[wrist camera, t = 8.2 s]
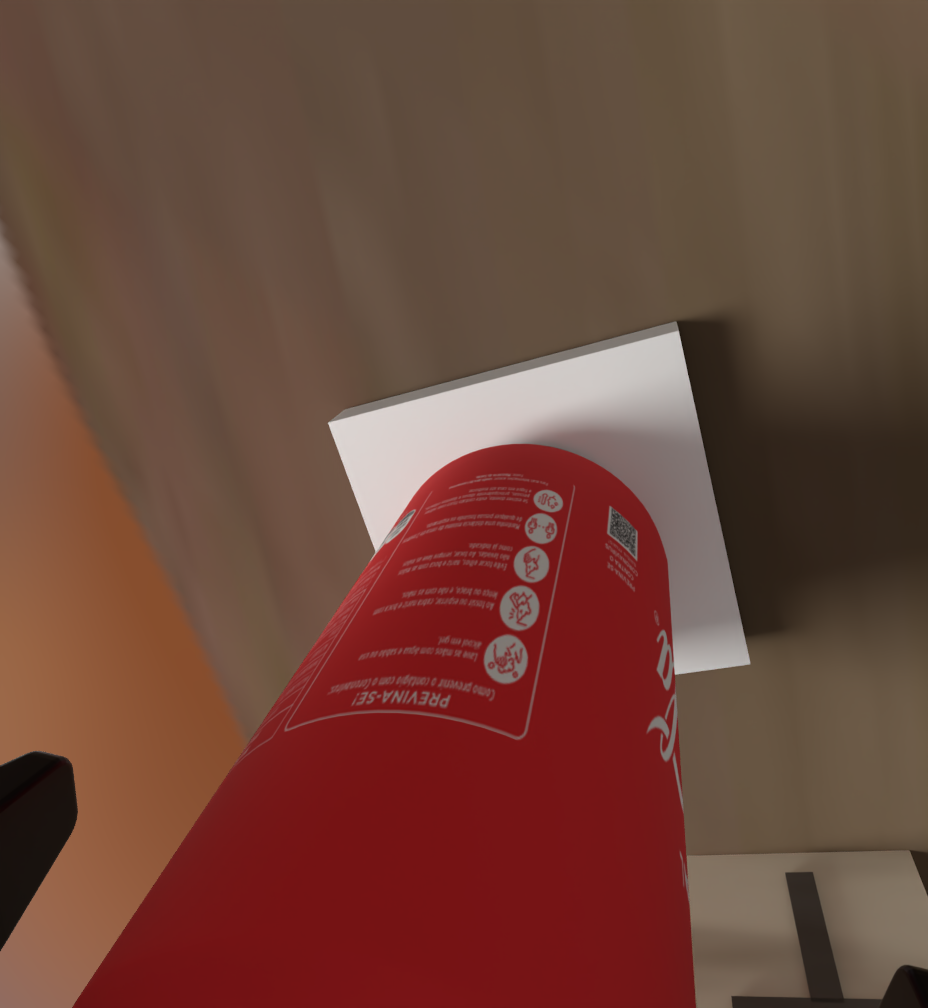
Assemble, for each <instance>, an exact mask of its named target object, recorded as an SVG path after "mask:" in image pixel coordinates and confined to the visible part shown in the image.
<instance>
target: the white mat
mask: <svg viewBox="0 0 928 1008" xmlns="http://www.w3.org/2000/svg"><path fill="white" fill-rule="evenodd" d="M328 424H329V427H330V429H331V432H332V435H333V437H334V440H335V443H336V446H337V448H338V451H339V454H340V456H341V459H342V462H343V464H344V467H345V470H346V473H347V475H348V478H349V481H350V483H351V486H352V489H353V492H354V494H355V497H356V500H357V502H358V505H359V508H360V510H361V513H362V516H363V519H364V521H365V524H366V527H367V529H368V532H369V535H370V538H371V540H372V543H373V546H374V548H375V551H376V552H377V550H378V549H379V547H380V546H381V544H382V543H383V541H384V540H385V538H386V537H387V535H388V534H389V532H390V531H391V529H392V528H393V526H394V525H395V523H396V522H397V520H398V519H399V517H400V516H401V514H402V513H403V511H404V510H405V508H406V507H407V505H408V504H409V502H410V501H411V499H412V498H413V496H414V495H415V493H416V492H417V491H418V490H419V488H420V487H421V486H422V485H423V484H424V483H425V482H426V481H427V480H428V479H429V478H430V477H431V476H432V475H433V474H434V473H436V472H437V471H438V470H440V469H441V468H442V467H444V466H445V465H447V464H449V463H450V462H452V461H454V460H456V459H458V458H460V457H462V456H464V455H466V454H469V453H471V452H474V451H477V450H480V449H484V448H488V447H493V446H499V445H507V444H535V445H544V446H551V447H556V448H560V449H563V450H567V451H570V452H572V453H575V454H577V455H580V456H582V457H584V458H586V459H588V460H590V461H593V462H594V463H596V464H598V465H600V466H601V467H603V468H604V469H606V470H607V471H609V472H610V473H612V474H613V475H614V476H616V477H617V478H618V479H619V480H621V481H622V482H623V483H624V484H625V485H626V486H627V487H628V488H629V489H630V490H631V491H632V492H633V493H634V494H635V495H636V496H637V498H638V499H639V500H640V501H641V503H642V504H643V505H644V507H645V508H646V510H647V511H648V513H649V514H650V516H651V518H652V520H653V522H654V524H655V526H656V528H657V530H658V533H659V535H660V538H661V541H662V544H663V547H664V550H665V554H666V557H667V562H668V575H669V591H670V607H671V623H672V639H673V655H674V670H675V675H676V674H683V673H691V672H698V671H705V670H712V669H719V668H727V667H734V666H741V665H748V664H750V660H749V655H748V650H747V646H746V641H745V637H744V632H743V627H742V623H741V618H740V613H739V609H738V604H737V599H736V595H735V590H734V585H733V581H732V576H731V571H730V567H729V562H728V558H727V553H726V548H725V544H724V539H723V534H722V530H721V525H720V520H719V516H718V511H717V506H716V502H715V497H714V493H713V488H712V483H711V479H710V474H709V469H708V465H707V460H706V455H705V451H704V446H703V441H702V437H701V432H700V427H699V423H698V418H697V414H696V409H695V404H694V400H693V395H692V390H691V386H690V381H689V376H688V372H687V367H686V362H685V358H684V353H683V349H682V344H681V339H680V335H679V330H678V326H677V322H676V321H675V322H671V323H668V324H664V325H660V326H656V327H653V328H649V329H645V330H641V331H638V332H634V333H630V334H626V335H623V336H619V337H615V338H611V339H608V340H604V341H600V342H596V343H593V344H589V345H585V346H581V347H578V348H574V349H570V350H566V351H563V352H559V353H555V354H551V355H547V356H544V357H540V358H536V359H532V360H529V361H525V362H521V363H517V364H514V365H510V366H506V367H502V368H499V369H495V370H491V371H487V372H484V373H480V374H476V375H472V376H469V377H465V378H461V379H457V380H454V381H450V382H446V383H442V384H439V385H435V386H431V387H427V388H424V389H420V390H416V391H412V392H408V393H405V394H401V395H397V396H393V397H390V398H386V399H382V400H378V401H375V402H371V403H367V404H363V405H360V406H356V407H352V408H348V409H345V410H343V411H342V412H341V413H340V414H338V415H337V416H336V417H335V418H333V419H332V420H331V421H330V422H328Z"/></svg>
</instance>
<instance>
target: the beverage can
mask: <svg viewBox="0 0 928 1008" xmlns="http://www.w3.org/2000/svg"><path fill="white" fill-rule="evenodd" d="M72 1008H696V1004H695V988H694V972H693V956H692V940H691V924H690V908H689V893H688V877H687V861H686V845H685V829H684V813H683V797H682V782H681V766H680V750H679V734H678V718H677V702H676V686H675V670H674V655H673V639H672V623H671V607H670V591H669V575H668V562H667V557H666V554H665V550H664V547H663V544H662V541H661V538H660V535H659V533H658V530H657V528H656V526H655V524H654V522H653V520H652V518H651V516H650V514H649V513H648V511H647V510H646V508H645V507H644V505H643V504H642V503H641V501H640V500H639V499H638V498H637V496H636V495H635V494H634V493H633V492H632V491H631V490H630V489H629V488H628V487H627V486H626V485H625V484H624V483H623V482H622V481H621V480H619V479H618V478H617V477H616V476H614V475H613V474H612V473H610V472H609V471H607V470H606V469H604V468H603V467H601V466H600V465H598V464H596V463H594V462H593V461H590V460H588V459H586V458H584V457H582V456H580V455H577V454H575V453H572V452H570V451H567V450H563V449H560V448H556V447H551V446H544V445H535V444H507V445H499V446H493V447H488V448H484V449H480V450H477V451H474V452H471V453H469V454H466V455H464V456H462V457H460V458H458V459H456V460H454V461H452V462H450V463H449V464H447V465H445V466H444V467H442V468H441V469H440V470H438V471H437V472H436V473H434V474H433V475H432V476H431V477H430V478H429V479H428V480H427V481H426V482H425V483H424V484H423V485H422V486H421V487H420V488H419V490H418V491H417V492H416V493H415V495H414V496H413V498H412V499H411V501H410V502H409V504H408V505H407V507H406V508H405V510H404V511H403V513H402V514H401V516H400V517H399V519H398V520H397V522H396V523H395V525H394V526H393V528H392V529H391V531H390V532H389V534H388V535H387V537H386V538H385V540H384V541H383V543H382V544H381V546H380V547H379V549H378V550H377V552H376V553H375V555H374V556H373V557H372V559H371V560H370V562H369V563H368V565H367V566H366V568H365V569H364V571H363V572H362V574H361V575H360V577H359V578H358V580H357V581H356V583H355V584H354V586H353V587H352V589H351V590H350V592H349V593H348V595H347V596H346V598H345V599H344V601H343V602H342V604H341V605H340V607H339V608H338V610H337V611H336V613H335V614H334V616H333V617H332V619H331V620H330V622H329V623H328V625H327V626H326V628H325V629H324V631H323V632H322V634H321V635H320V637H319V638H318V640H317V641H316V643H315V644H314V646H313V647H312V649H311V650H310V652H309V653H308V655H307V656H306V658H305V659H304V661H303V662H302V664H301V665H300V667H299V668H298V670H297V671H296V673H295V674H294V676H293V677H292V679H291V680H290V682H289V683H288V685H287V686H286V688H285V689H284V691H283V692H282V694H281V695H280V697H279V698H278V700H277V701H276V703H275V704H274V706H273V707H272V709H271V710H270V712H269V713H268V715H267V716H266V718H265V719H264V721H263V722H262V724H261V725H260V727H259V728H258V730H257V731H256V733H255V734H254V736H253V737H252V739H251V740H250V742H249V743H248V745H247V746H246V748H245V749H244V751H243V752H242V754H241V755H240V757H239V758H238V760H237V761H236V763H235V764H234V766H233V767H232V769H231V770H230V772H229V773H228V775H227V776H226V778H225V779H224V781H223V782H222V784H221V785H220V787H219V788H218V790H217V791H216V793H215V794H214V796H213V797H212V799H211V800H210V802H209V803H208V805H207V806H206V808H205V809H204V811H203V812H202V814H201V815H200V817H199V818H198V819H197V821H196V822H195V824H194V826H193V827H192V829H191V830H190V831H189V833H188V834H187V836H186V838H185V839H184V840H183V842H182V843H181V845H180V846H179V848H178V850H177V851H176V852H175V854H174V855H173V857H172V859H171V860H170V861H169V863H168V865H167V866H166V867H165V869H164V870H163V872H162V873H161V875H160V876H159V878H158V879H157V881H156V883H155V884H154V885H153V887H152V888H151V890H150V891H149V893H148V894H147V896H146V897H145V899H144V900H143V902H142V904H141V905H140V906H139V908H138V909H137V911H136V912H135V914H134V915H133V917H132V918H131V920H130V921H129V923H128V924H127V926H126V927H125V929H124V930H123V932H122V934H121V935H120V936H119V938H118V939H117V941H116V942H115V944H114V945H113V947H112V948H111V950H110V951H109V953H108V954H107V956H106V957H105V959H104V960H103V962H102V963H101V965H100V966H99V968H98V969H97V971H96V972H95V974H94V975H93V977H92V978H91V980H90V981H89V983H88V984H87V986H86V987H85V989H84V990H83V992H82V993H81V995H80V996H79V998H78V999H77V1001H76V1002H75V1004H74V1006H73V1007H72Z"/></svg>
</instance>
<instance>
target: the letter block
mask: <svg viewBox="0 0 928 1008" xmlns="http://www.w3.org/2000/svg"><path fill="white" fill-rule="evenodd" d="M687 865H688V881H689V896H690V911H691V926H692V941H693V956H694V971H695V986H696V1001H697V1008H878V1007H879V1005H880V1003H881V1001H882V999H883V996H884V994H885V992H886V990H887V988H888V986H889V984H890V982H891V980H892V978H893V975H894V973H895V972H896V970H897V969H898V968H899V967H901V966H902V965H912V966H916V967H920V968H924V969H928V896H927V893H926V891H925V888H924V886H923V883H922V881H921V878H920V876H919V873H918V871H917V868H916V866H915V863H914V861H913V858H912V855H911V853H910V850H896V851H857V852H818V853H778V854H739V855H700V856H687Z"/></svg>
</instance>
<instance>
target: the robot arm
mask: <svg viewBox="0 0 928 1008" xmlns="http://www.w3.org/2000/svg"><path fill="white" fill-rule="evenodd" d="M77 813H78V809H77V800H76V791H75V783H74V774H73V767H72V764H71V763H70V761H69V760H68V759H67V758H65V757H62V756H58V755H54V754H50V753H46V752H41V751H33V752H30V753H27V754H24V755H22V756H20V757H18V758H16V759H14V760H11V761H9V762H7V763H5V764H3V765H0V951H1V949H2V948H3V946H4V944H5V943H6V941H7V940H8V938H9V936H10V935H11V933H12V931H13V930H14V928H15V926H16V925H17V923H18V921H19V920H20V918H21V916H22V915H23V913H24V911H25V910H26V908H27V906H28V905H29V903H30V901H31V900H32V898H33V897H34V895H35V893H36V891H37V890H38V888H39V886H40V885H41V883H42V882H43V880H44V878H45V876H46V875H47V873H48V872H49V870H50V868H51V867H52V865H53V863H54V862H55V860H56V858H57V857H58V855H59V853H60V851H61V850H62V848H63V847H64V845H65V843H66V842H67V840H68V838H69V836H70V835H71V833H72V831H73V829H74V826H75V823H76V820H77ZM878 1008H928V969H924V968H920V967H916V966H912V965H902V966H901V967H899V968H898V969H897V970H896V972H895V973H894V975H893V978H892V980H891V982H890V984H889V986H888V988H887V990H886V992H885V994H884V996H883V999H882V1001H881V1003H880V1005H879V1007H878Z"/></svg>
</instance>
